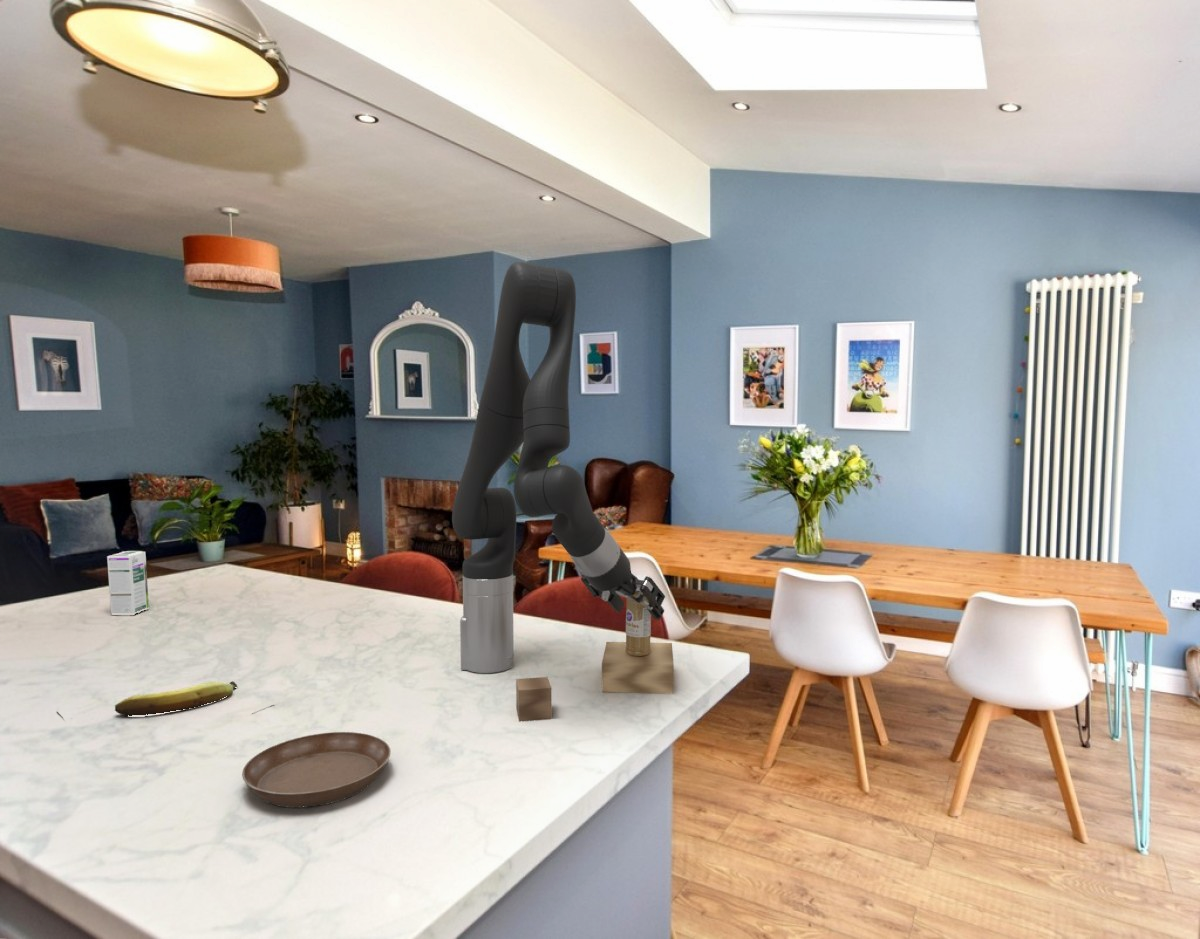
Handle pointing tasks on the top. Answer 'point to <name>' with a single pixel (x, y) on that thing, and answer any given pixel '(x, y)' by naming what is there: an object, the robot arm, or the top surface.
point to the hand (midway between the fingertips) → (639, 611)
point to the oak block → (638, 669)
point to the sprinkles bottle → (637, 626)
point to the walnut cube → (533, 699)
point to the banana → (175, 699)
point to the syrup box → (128, 582)
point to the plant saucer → (316, 768)
